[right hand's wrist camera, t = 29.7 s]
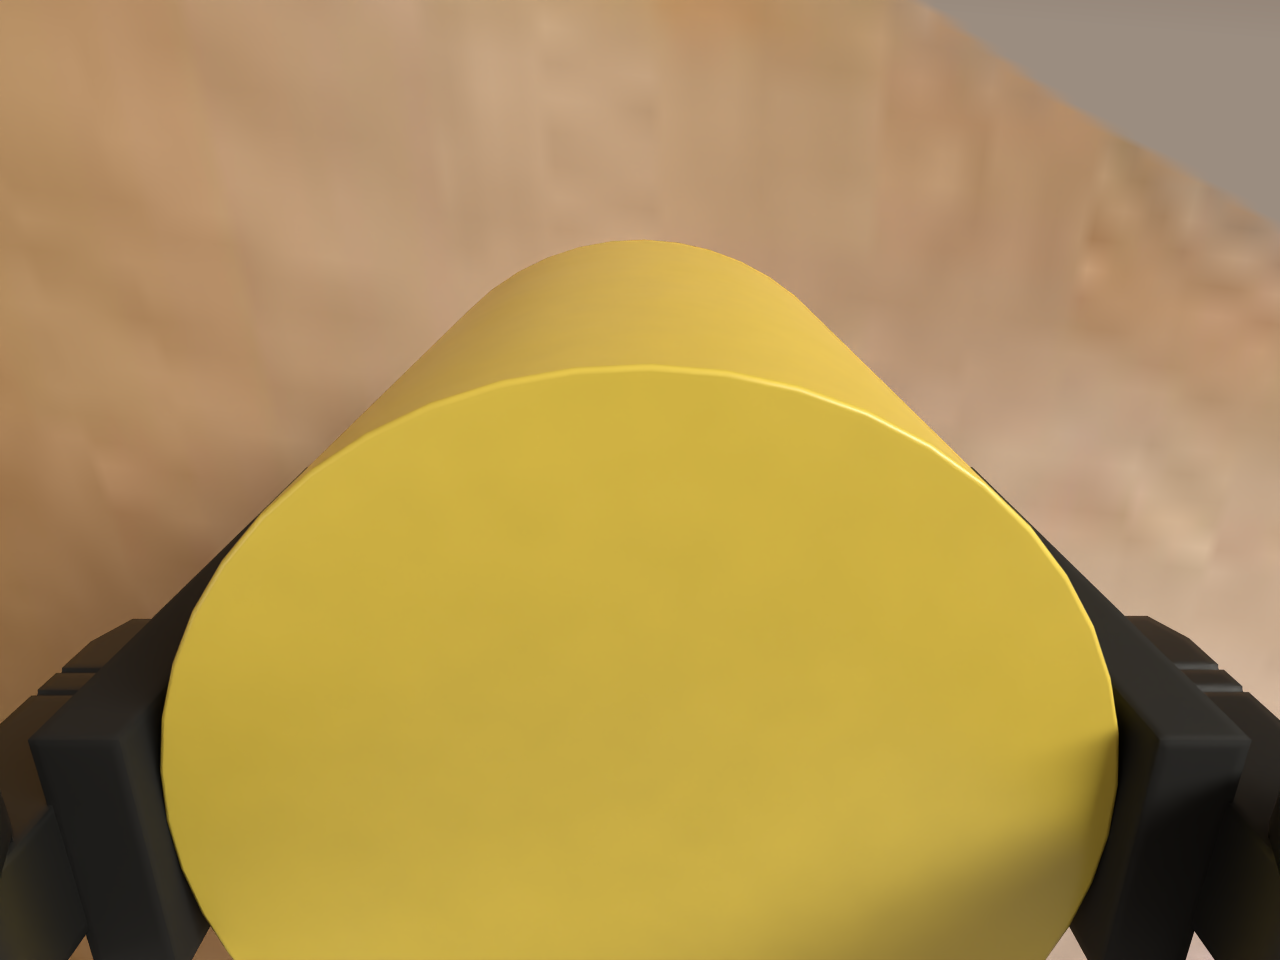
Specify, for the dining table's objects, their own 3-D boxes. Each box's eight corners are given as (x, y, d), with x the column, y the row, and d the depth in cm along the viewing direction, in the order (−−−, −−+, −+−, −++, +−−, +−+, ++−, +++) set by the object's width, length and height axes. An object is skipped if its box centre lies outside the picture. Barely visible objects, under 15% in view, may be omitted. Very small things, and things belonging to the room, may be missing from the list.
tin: (828, 183, 15) (1091, 236, 6) (900, 623, 17) (1142, 1070, 9) (340, 308, 15) (-29, 510, 7) (488, 710, 18) (359, 1197, 10)
